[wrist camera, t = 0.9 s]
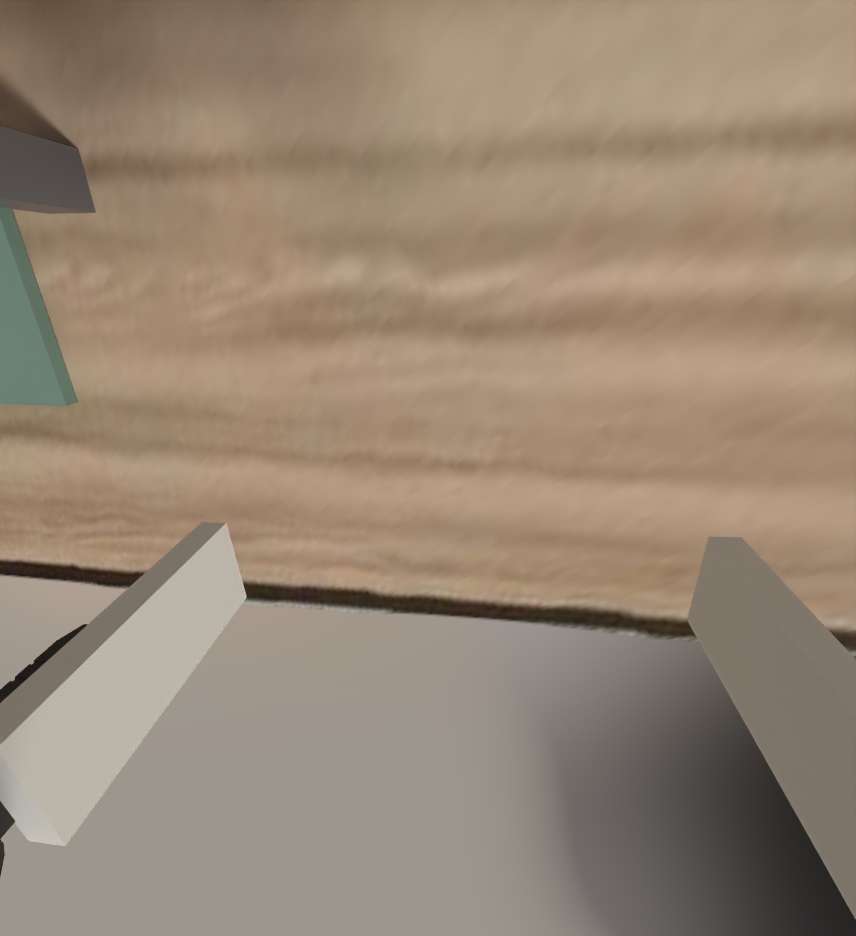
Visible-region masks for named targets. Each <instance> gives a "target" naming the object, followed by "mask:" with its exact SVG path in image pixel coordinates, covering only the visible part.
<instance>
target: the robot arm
mask: <svg viewBox="0 0 856 936" xmlns="http://www.w3.org/2000/svg"><path fill="white" fill-rule="evenodd" d="M245 599H246V593H245V589H244V586H243V582H242V579H241V575H240V571H239V568H238V564H237V560H236V557H235V553H234V549H233V546H232V542H231V539H230V535H229V531H228V528H227V524H226V523H210V522H202V523H201V524H200V525H198V526H197V527H196V528H195V529H194V530H193V531H192V532H191V533H189V534H188V535H187V536H186V537H185V538H184V539H183V540H182V541H181V542H179V543H178V544H177V545H176V546H175V547H174V548H173V549H172V550H171V551H169V552H168V553H167V554H166V555H165V556H164V557H163V558H162V559H160V560H159V561H158V562H157V563H156V564H155V565H154V566H153V567H152V568H150V569H149V570H148V571H147V572H146V573H145V574H144V575H143V576H142V577H140V578H139V579H138V580H137V581H136V582H135V583H134V584H133V585H131V586H130V587H129V588H128V589H127V590H126V591H125V592H124V593H123V594H121V596H119V597H118V598H117V599H116V600H115V601H114V602H113V603H111V604H110V605H109V606H108V607H107V608H106V609H105V610H104V611H102V612H101V613H100V614H99V615H98V616H97V617H96V618H95V619H94V620H92V621H91V622H90V623H89V624H88V625H87V624H84V625H82V626H80V627H79V628H77V629H75V630H74V631H72V632H70V633H69V634H67V635H65V636H64V637H62V638H60V639H59V640H57V641H56V642H55V643H54V644H53V645H51V646H50V647H49V648H48V649H47V650H46V651H45V652H43V653H42V654H41V655H40V656H39V657H37V658H36V659H35V660H34V663H33V664H32V665H31V664H29V665H28V666H27V667H26V668H25V669H24V670H23V671H21V672H20V673H19V674H18V675H17V676H16V677H15V680H14V681H10V682H9V683H7V684H6V685H5V686H4V687H3V688H2V689H1V690H0V839H1V838H2V836H3V835H4V834H5V833H6V832H7V830H8V829H9V828H10V827H11V826H12V825H13V823H14V822H15V824H16V825H17V826H18V828H19V829H20V830H21V831H22V833H23V834H24V835H25V837H26V838H27V839H28V841H33V842H40V843H48V844H55V845H62V846H66V844H67V843H68V841H69V840H70V839H71V838H72V836H73V835H74V833H75V832H76V831H77V829H78V828H79V826H80V825H81V824H82V823H83V821H84V820H85V818H86V817H87V816H88V814H89V813H90V812H91V810H92V809H93V807H94V806H95V805H96V803H97V802H98V800H99V799H100V798H101V796H102V795H103V794H104V792H105V791H106V790H107V788H108V787H109V785H110V784H111V783H112V781H113V780H114V779H115V777H116V776H117V774H118V773H119V772H120V770H121V769H122V768H123V766H124V765H125V763H126V762H127V761H128V759H129V758H130V757H131V755H132V754H133V752H134V751H135V750H136V748H137V747H138V746H139V744H140V743H141V741H142V740H143V739H144V737H145V736H146V735H147V733H148V732H149V731H150V729H151V728H152V726H153V725H154V724H155V722H156V721H157V720H158V718H159V717H160V715H161V714H162V713H163V711H164V710H165V708H166V707H167V706H168V704H169V703H170V702H171V700H172V699H173V698H174V696H175V695H176V693H177V692H178V691H179V689H180V688H181V687H182V685H183V684H184V682H185V681H186V679H187V678H188V677H189V676H190V674H191V673H192V671H193V670H194V669H195V667H196V666H197V665H198V663H199V662H200V661H201V659H202V658H203V656H204V655H205V654H206V652H207V651H208V650H209V648H210V647H211V645H212V644H213V643H214V641H215V640H216V639H217V637H218V636H219V634H220V633H221V632H222V630H223V629H224V628H225V626H226V625H227V623H228V622H229V621H230V619H231V618H232V617H233V615H234V614H235V612H236V611H237V610H238V608H239V607H240V606H241V604H242V603H243V601H244V600H245ZM687 621H688V622H689V624H690V626H691V628H692V630H693V631H694V633H695V635H696V637H697V638H698V640H699V642H700V644H701V646H702V647H703V649H704V651H705V653H706V654H707V656H708V658H709V660H710V661H711V663H712V665H713V667H714V669H715V670H716V672H717V674H718V676H719V677H720V679H721V681H722V683H723V685H724V686H725V688H726V690H727V692H728V694H729V695H730V697H731V699H732V701H733V702H734V704H735V706H736V708H737V710H738V711H739V713H740V715H741V716H742V718H743V720H744V722H745V724H746V725H747V727H748V729H749V731H750V733H751V734H752V736H753V738H754V740H755V742H756V743H757V745H758V747H759V749H760V750H761V752H762V754H763V756H764V757H765V759H766V761H767V763H768V764H769V766H770V768H771V770H772V772H773V773H774V775H775V777H776V779H777V781H778V782H779V784H780V786H781V788H782V789H783V791H784V793H785V795H786V796H787V798H788V800H789V802H790V804H791V805H792V807H793V809H794V811H795V813H796V814H797V816H798V818H799V820H800V821H801V823H802V825H803V827H804V828H805V830H806V832H807V834H808V836H809V837H810V839H811V841H812V843H813V845H814V846H815V848H816V850H817V852H818V853H819V855H820V857H821V859H822V860H823V862H824V864H825V866H826V868H827V869H828V871H829V873H830V875H831V877H832V878H833V880H834V882H835V884H836V885H837V887H838V889H839V891H840V892H841V894H842V896H843V898H844V899H845V901H846V903H847V905H848V907H849V908H850V910H851V912H852V914H853V916H854V917H855V919H856V659H855V658H854V657H853V656H852V655H851V654H850V653H849V652H848V651H847V650H846V649H845V648H844V647H843V645H842V644H841V643H840V642H839V641H838V640H837V639H836V638H835V637H834V636H833V635H832V634H831V633H830V632H829V630H828V629H827V628H826V627H825V626H824V625H823V624H822V623H821V622H820V621H819V620H818V619H817V618H816V617H815V615H814V614H813V613H812V612H811V611H810V610H809V609H808V608H807V607H806V606H805V605H804V604H803V603H802V602H801V601H800V599H799V598H798V597H797V596H796V595H795V594H794V593H793V592H792V591H791V590H790V589H789V588H788V587H787V586H786V584H785V583H784V582H783V581H782V580H781V579H780V578H779V577H778V576H777V575H776V574H775V573H774V572H773V571H772V569H771V568H770V567H769V566H768V565H767V564H766V563H765V562H764V561H763V560H762V559H761V558H760V557H759V556H758V555H757V553H756V552H755V551H754V550H753V549H752V548H751V547H750V546H749V545H748V544H747V543H746V542H745V541H744V540H743V538H741V537H709V538H708V542H707V545H706V549H705V553H704V557H703V561H702V565H701V568H700V572H699V576H698V580H697V584H696V588H695V592H694V595H693V599H692V603H691V607H690V611H689V615H688V618H687ZM3 860H4V844H3V842H2V841H1V840H0V875H1V870H2V865H3Z"/></svg>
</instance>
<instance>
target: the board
mask: <svg viewBox="0 0 856 936" xmlns="http://www.w3.org/2000/svg"><path fill="white" fill-rule="evenodd" d="M77 402H78V401H77V398H76V395H75V393H74V390H73V387H72V384H71V381H70V378H69V375H68V372H67V369H66V366H65V363H64V360H63V357H62V355H61V352H60V349H59V346H58V343H57V340H56V337H55V334H54V331H53V328H52V325H51V322H50V319H49V316H48V314H47V311H46V308H45V305H44V302H43V299H42V296H41V293H40V290H39V287H38V284H37V281H36V278H35V275H34V273H33V270H32V267H31V264H30V261H29V258H28V255H27V252H26V249H25V246H24V243H23V240H22V237H21V235H20V232H19V229H18V226H17V223H16V220H15V217H14V214H13V211H12V209H10V208H2V207H0V404H26V405H56V406H68V405H71V404H74V403H77Z"/></svg>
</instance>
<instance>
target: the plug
mask: <svg viewBox="0 0 856 936" xmlns="http://www.w3.org/2000/svg"><path fill="white" fill-rule="evenodd" d="M0 207H2V208H10V209H17V210H25V211H33V212H41V213H48V214H50V213H96V212H95V208H94V204H93V201H92V197H91V194H90V190H89V186H88V183H87V179H86V175H85V172H84V168H83V164H82V161H81V157H80V154H79V150H78V149H77V148H74V147H71V146H67V145H64V144H61V143H57V142H54V141H50V140H47V139H44V138H40V137H37V136H34V135H30V134H27V133H24V132H20V131H17V130H14V129H10V128H7V127H3V126H0Z"/></svg>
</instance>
